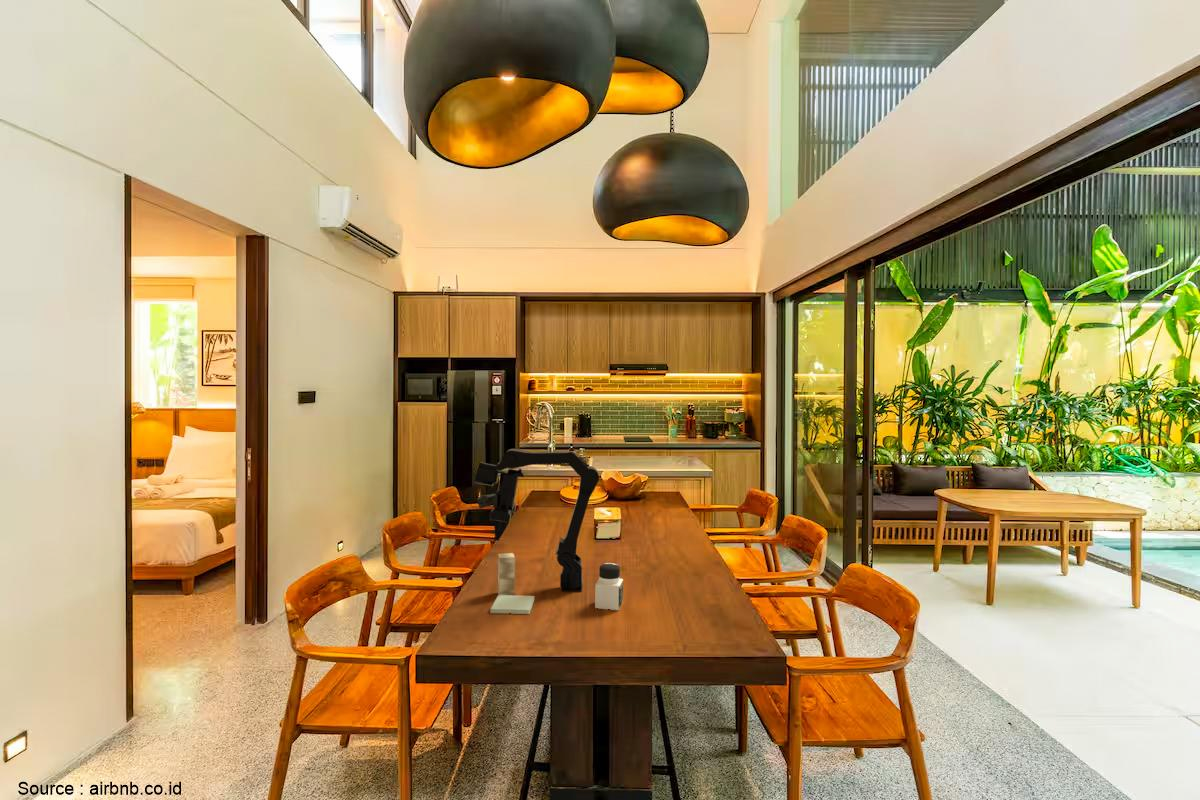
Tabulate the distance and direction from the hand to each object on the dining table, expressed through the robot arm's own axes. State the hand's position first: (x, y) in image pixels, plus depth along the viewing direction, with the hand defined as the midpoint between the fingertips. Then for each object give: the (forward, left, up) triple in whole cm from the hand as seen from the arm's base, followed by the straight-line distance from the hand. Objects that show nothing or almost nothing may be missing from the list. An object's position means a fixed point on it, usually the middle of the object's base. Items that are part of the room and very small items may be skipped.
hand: (498, 536), depth 184 cm
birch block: (-3, +5, -17) cm, 18 cm away
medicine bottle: (-35, +12, -17) cm, 41 cm away
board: (-7, +15, -17) cm, 23 cm away
